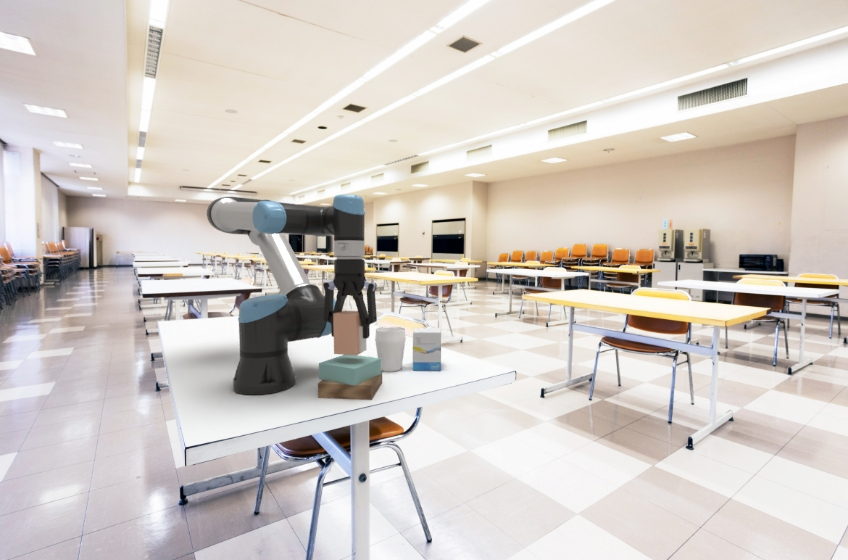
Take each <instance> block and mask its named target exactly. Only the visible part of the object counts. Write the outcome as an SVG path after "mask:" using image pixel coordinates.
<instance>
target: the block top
mask: <svg viewBox="0 0 848 560" xmlns="http://www.w3.org/2000/svg"><path fill="white" fill-rule="evenodd" d="M380 374H381V358H378V357H373V356H367V355H366V356H364V355H360V354H358V355H342V354H341V355H339V356H336V357H333V358H330V359H327V360H325V361H321V362H319V363H318V379H319V380H320V381H321V380H327V381H332V382H338V383H343V384H349V385H354V386H356V385H358V384H360V383H362V382H364V381H366V380H369V379H371V378H373V377H375V376H377V375H380Z"/></svg>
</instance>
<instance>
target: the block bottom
mask: <svg viewBox="0 0 848 560" xmlns="http://www.w3.org/2000/svg"><path fill="white" fill-rule="evenodd" d="M382 384H383V371H382V370H381V374H380V375H377V376H375V377H373V378H371V379H369V380H366V381H364V382H362V383H360V384H358V385H356V386H354V385H349V384H343V383H338V382H332V381H327V380H321V379H320V381H319V382H318V383H317V399H332V400H333V399H335V400H337V399H338V400H339V399H340V400H362V401H363V400H365V401H367V400H368V401H372V400H373V398H374V397H375V395H376V393H377V392H378V390H379V389H380V388H381V386H382Z"/></svg>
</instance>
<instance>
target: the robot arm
mask: <svg viewBox="0 0 848 560" xmlns="http://www.w3.org/2000/svg"><path fill="white" fill-rule="evenodd" d="M364 201H365V200H364V198H363V197H362V196H360V195H356V194H338V195H335V196H334V197H333V202H332V205H331V206H330V205H329V206H321V205H320V206H318V205H311V204H309V205H308V204H298V203H297V204H296V203H290V202H289V203H288V202H282V201H281V202H280V201H279V202H278V201H274V200H271V199H260V198H259V199H257V198H246V197H240V196H239V197H238V196H224V197H219V198H217V199H214V200H212V202H210V204H209V205H208V206H207V209H206V219H207V220H208V222H209V224H210V225H211V226H212V227H213V228H214V229H216V230H217V231H219V232H222V233H224V234H225V233H226V234H230V235H244V236H245V235H247V236H248V238H249V240H250V242H251V243H252V244H254V246H258V247H259V249H260V252H261V254H262V256H263V258H264V260H265V262H266V264H267V266H268V268H269V270H270V272H271V274H272V276H273V278H274V280H275V283H276V285H277V286H278V289H279V290H280V293H274V294H263V295H258V296H253V297H250V298H247V299H245V300H243V301H242V302H241V303H240V304H239V307H238V310H239V311H238V318H237V322H238V331H239V332H238V334H239V335H238V336H239V337H238V338H239V360H238V364H237V367H236V370H235V373H234V377H233V379H232V388H233V391H234V393H238V394H242V395H268V394H273V393H278V392H282V391H285V390H288V389H290V388H291V387H293V386H294V385H296V373H295V371H294V369H293V365H292V361H291V360H290V357H289V349H288V345H289V343H292V342H297V341H303V340H309V339H320V338H322V337H325V336H326V337H327V336H329V335H331V337H333V338H334V324H333V314H334V313H338V312H342V311H343V309H344V305H345V301H346V299H347V297H348V296H350V297H352V298H353V300H354V301H355V306H356V309H357V311H358V313H359V316H360V319H361V323H362V324H361V326H359V352H362V353H363V352H366V351H367V340H368V338H370V332H371V331H370V327H371V326H370V325H372V324H374V323H376V322H377V321H378V318H377V305H376V304H377V303H376V291H377V285H378V284H377V283H376V282H371V281H370V282H369V281H367V279H366V276H365V274H366V267H365V266H366V263H365V261H366V260H365V259H363V258H364V257H365V255H366V252H365V250H366V249H365V246H366V245H365V216H366V212H365V202H364ZM286 235H300V236H301V235H302V236H314V237H329V236H333V256H334V258H336V259H334V261H333V268H334V269H333V270H334V271H333V272H334V277H333V280H332V281H327V282H324V283H323V285H322V286H323V289H324V295H323V293H322V291H321V290H320V288H319V286H318V285H316V284H314V283H311V282H310V280H309V278H308V277H307V274H306V272H305V271H304V269H303V267H302V264H301V263H300V261H299V259H298V257H297V255H296V253H295V252H294V250H293V249H292V246H291V243H289V240H288V239H287V237H286ZM335 288H336V289H337V293H336V298H334V297H335V296H334V295H335ZM364 288H365V291H366V303H367V304H366V303H365V300H364V293H363V289H364ZM366 305H367V306H366Z"/></svg>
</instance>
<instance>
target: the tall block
mask: <svg viewBox="0 0 848 560" xmlns="http://www.w3.org/2000/svg"><path fill="white" fill-rule="evenodd" d="M333 324H334V337H333V355H341V356H342V355H360V354H362V353H363V352H359V326H361V324H362V323H361V319H360V316H359V313H358V310H342V312H338V313H334V314H333Z"/></svg>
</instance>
